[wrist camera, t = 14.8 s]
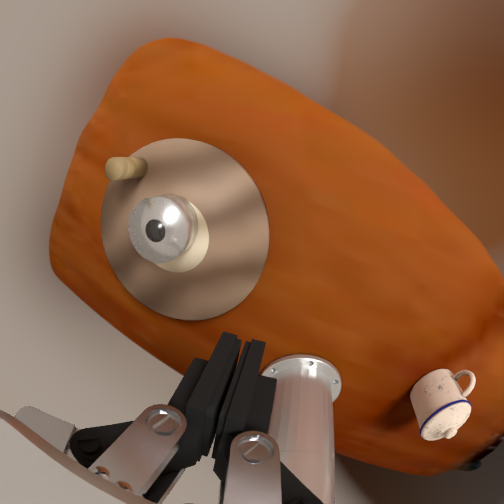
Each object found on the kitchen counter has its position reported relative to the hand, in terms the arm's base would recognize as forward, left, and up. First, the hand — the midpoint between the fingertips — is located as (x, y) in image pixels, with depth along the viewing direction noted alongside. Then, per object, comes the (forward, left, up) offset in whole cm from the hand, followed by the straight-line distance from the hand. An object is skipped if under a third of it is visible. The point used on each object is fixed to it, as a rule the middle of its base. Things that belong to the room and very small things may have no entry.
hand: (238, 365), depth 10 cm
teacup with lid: (-18, -32, -23) cm, 43 cm away
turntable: (-2, +12, -21) cm, 24 cm away
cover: (-1, +12, -20) cm, 23 cm away
